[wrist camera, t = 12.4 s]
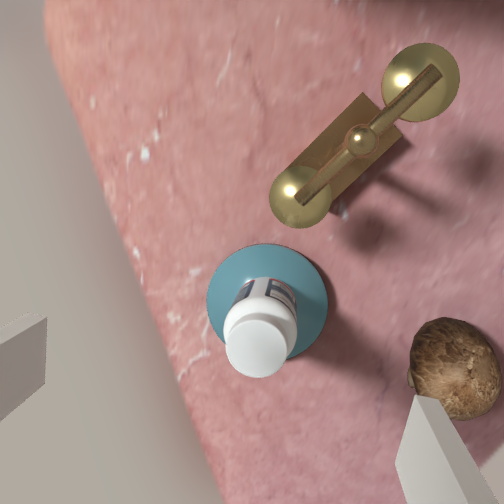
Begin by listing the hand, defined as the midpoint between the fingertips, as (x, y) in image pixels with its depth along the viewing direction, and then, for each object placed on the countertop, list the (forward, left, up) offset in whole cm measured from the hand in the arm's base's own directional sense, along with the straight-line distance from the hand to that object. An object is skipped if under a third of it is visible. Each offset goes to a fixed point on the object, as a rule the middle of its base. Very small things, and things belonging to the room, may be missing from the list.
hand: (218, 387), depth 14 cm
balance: (-4, +10, -21) cm, 23 cm away
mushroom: (+15, +8, -21) cm, 27 cm away
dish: (+3, -2, -21) cm, 21 cm away
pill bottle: (+3, -2, -20) cm, 20 cm away
